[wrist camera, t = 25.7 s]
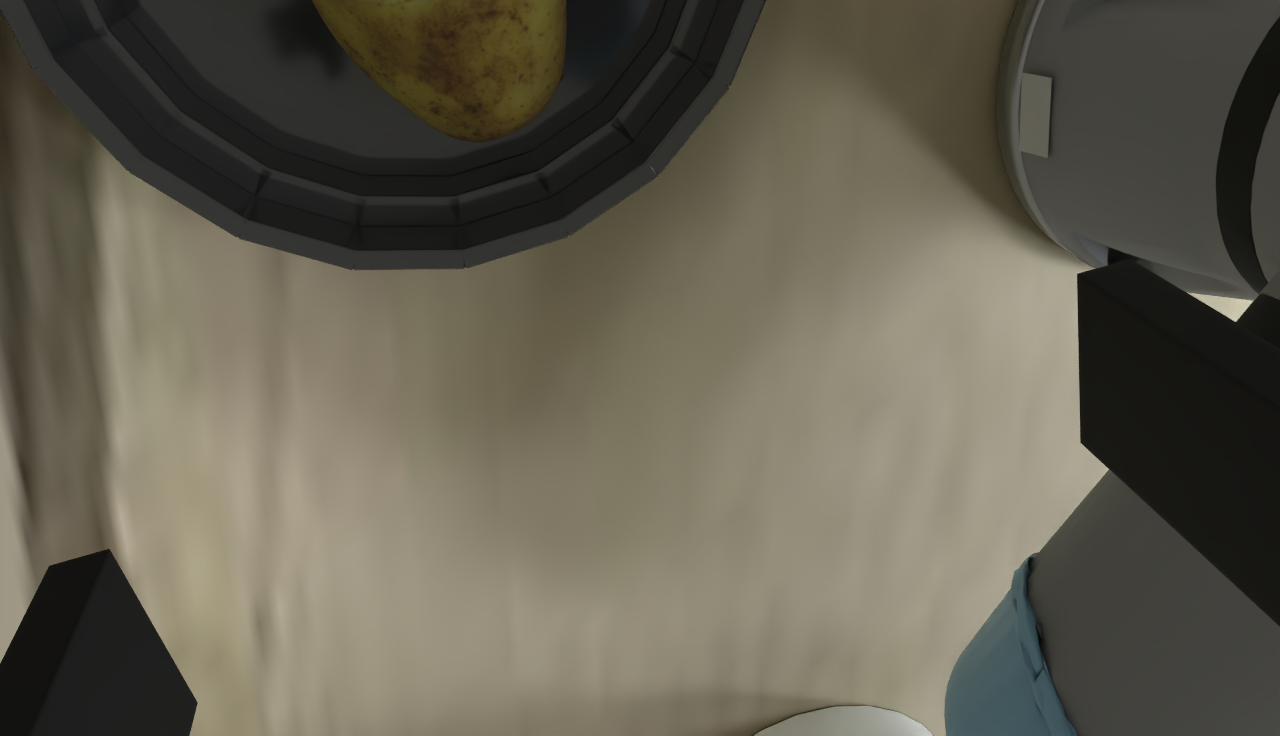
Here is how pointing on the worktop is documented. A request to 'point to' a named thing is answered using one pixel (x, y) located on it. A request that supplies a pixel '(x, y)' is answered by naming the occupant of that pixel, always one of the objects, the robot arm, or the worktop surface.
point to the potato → (457, 58)
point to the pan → (376, 122)
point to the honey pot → (848, 723)
